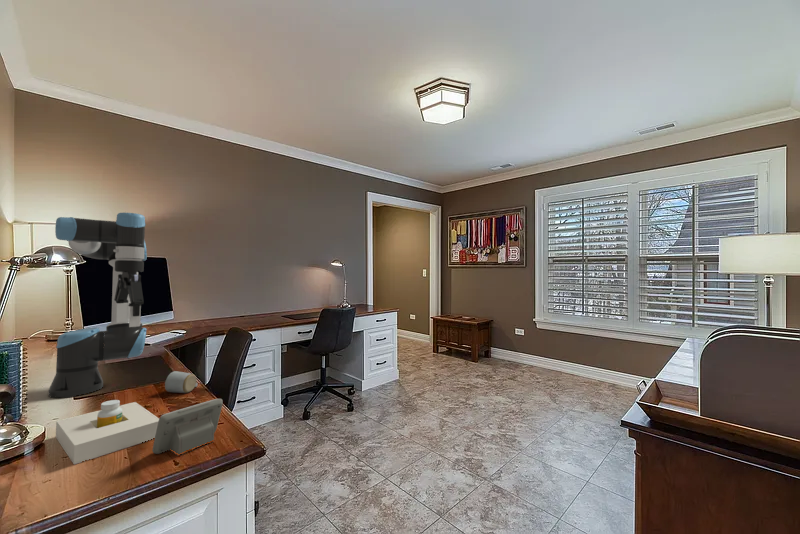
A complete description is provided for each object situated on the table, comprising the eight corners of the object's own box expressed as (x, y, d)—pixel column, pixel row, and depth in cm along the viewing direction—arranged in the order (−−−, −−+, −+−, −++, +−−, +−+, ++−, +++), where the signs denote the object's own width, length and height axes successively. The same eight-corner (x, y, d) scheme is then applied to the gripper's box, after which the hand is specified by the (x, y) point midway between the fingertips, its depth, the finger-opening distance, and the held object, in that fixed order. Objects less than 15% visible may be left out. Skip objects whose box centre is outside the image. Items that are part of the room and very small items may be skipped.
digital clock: (216, 430, 100) (217, 393, 101) (227, 441, 94) (228, 402, 94) (149, 449, 89) (150, 408, 89) (156, 463, 83) (157, 419, 83)
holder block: (55, 437, 95) (56, 420, 95) (134, 416, 109) (135, 401, 109) (74, 464, 81) (74, 445, 82) (161, 436, 96) (161, 420, 96)
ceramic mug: (184, 395, 127) (184, 375, 128) (163, 394, 128) (164, 374, 128) (203, 387, 138) (204, 367, 138) (184, 386, 139) (185, 367, 139)
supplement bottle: (100, 434, 96) (101, 400, 97) (123, 431, 99) (125, 397, 99) (93, 443, 92) (94, 407, 92) (118, 439, 94) (119, 404, 94)
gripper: (104, 260, 117) (102, 321, 117) (128, 259, 102) (125, 329, 102) (131, 260, 123) (129, 319, 123) (157, 260, 108) (155, 327, 108)
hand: (127, 324), depth 112 cm, fingers open, 13 cm apart
